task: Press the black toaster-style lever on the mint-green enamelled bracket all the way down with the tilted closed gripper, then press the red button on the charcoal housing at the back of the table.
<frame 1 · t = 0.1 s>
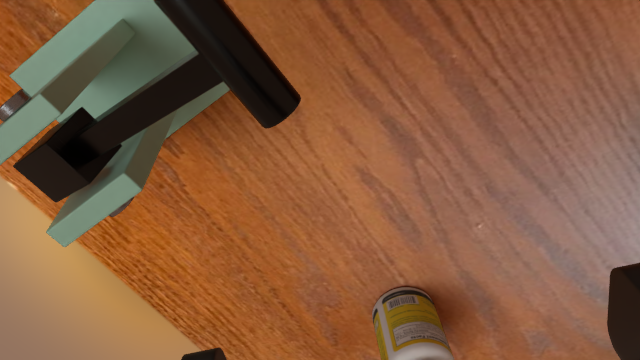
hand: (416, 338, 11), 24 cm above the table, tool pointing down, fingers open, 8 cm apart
lever: (132, 114, 20), point 13 cm above the table, hinge at 25.0°
bracket: (132, 71, 32), on the table
supplement bottle: (402, 307, 42), on the table
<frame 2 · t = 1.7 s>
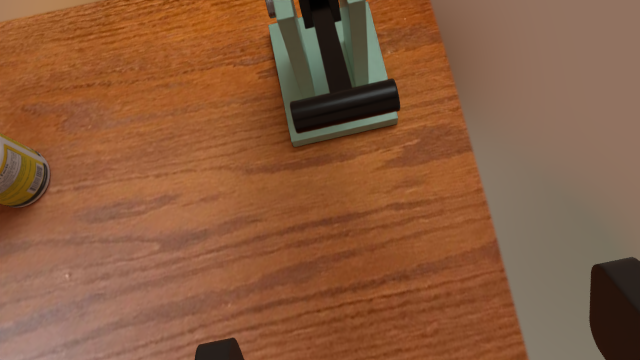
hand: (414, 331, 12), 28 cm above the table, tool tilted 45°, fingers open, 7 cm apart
lever: (328, 41, 30), point 13 cm above the table, hinge at 25.0°
bracket: (332, 76, 43), on the table
supplement bottle: (24, 180, 44), on the table
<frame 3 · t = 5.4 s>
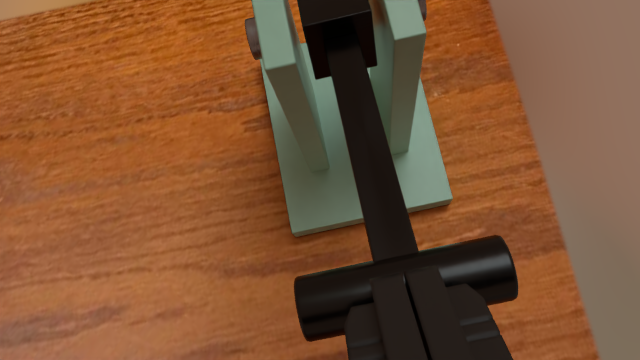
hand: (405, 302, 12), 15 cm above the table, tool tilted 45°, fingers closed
lever: (361, 122, 16), point 13 cm above the table, hinge at 19.5°, touching gripper
bracket: (351, 130, 30), on the table
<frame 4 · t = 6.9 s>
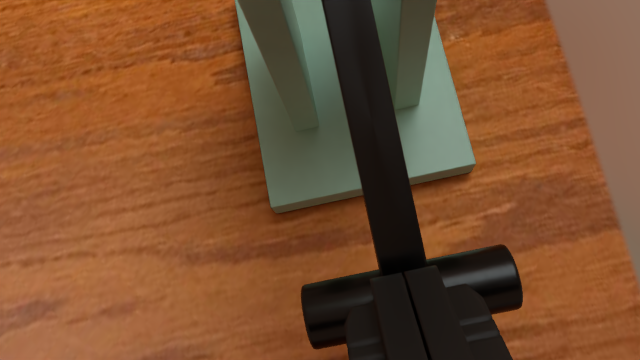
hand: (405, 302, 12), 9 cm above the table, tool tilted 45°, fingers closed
lever: (362, 80, 13), point 10 cm above the table, hinge at -17.1°, touching gripper
bracket: (347, 81, 24), on the table
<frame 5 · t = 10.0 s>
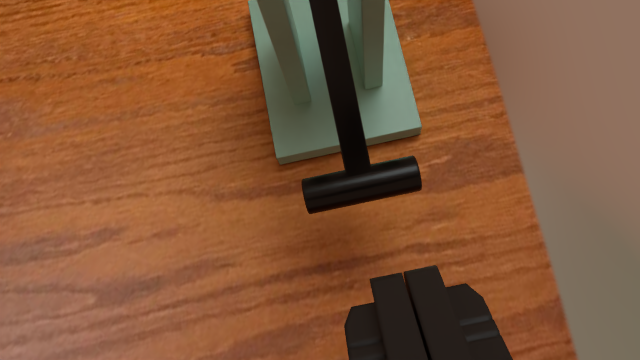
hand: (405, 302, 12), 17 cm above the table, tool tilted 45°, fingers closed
lever: (335, 62, 23), point 9 cm above the table, hinge at -29.3°
bracket: (332, 70, 33), on the table
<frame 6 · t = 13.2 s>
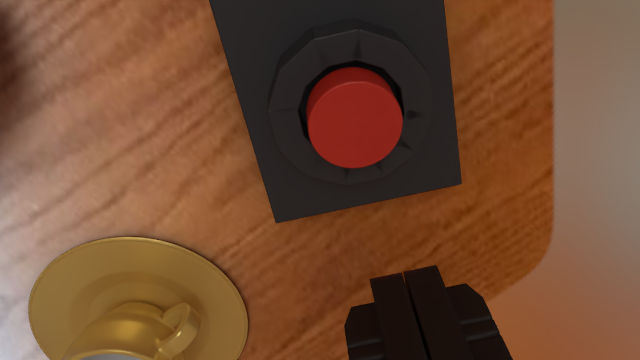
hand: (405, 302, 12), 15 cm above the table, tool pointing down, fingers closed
button housing: (342, 80, 26), on the table
button: (353, 118, 22), point 4 cm above the table, slide at 0.1 cm
cup: (143, 317, 32), on the table
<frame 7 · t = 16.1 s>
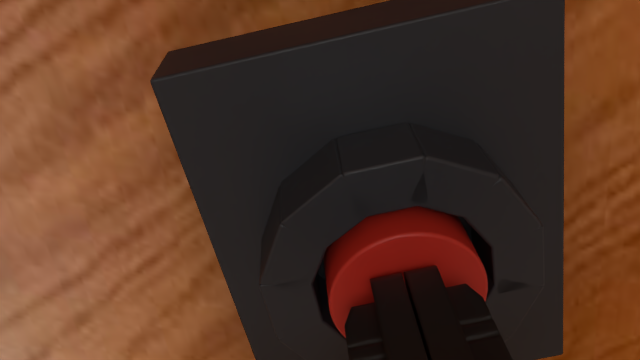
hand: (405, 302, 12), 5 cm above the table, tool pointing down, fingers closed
button housing: (378, 197, 16), on the table
button: (401, 275, 13), point 4 cm above the table, slide at -0.8 cm, touching gripper
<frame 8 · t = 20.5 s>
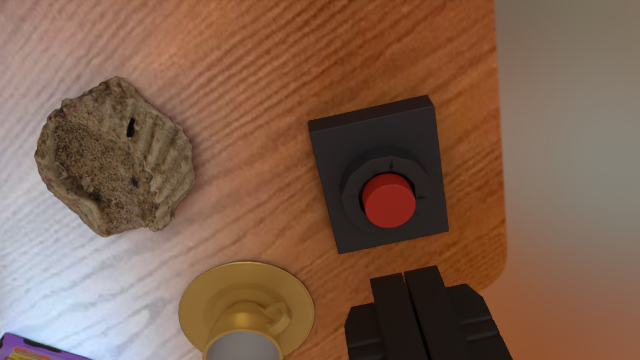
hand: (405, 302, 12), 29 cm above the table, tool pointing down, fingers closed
button housing: (378, 171, 44), on the table
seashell: (130, 142, 42), on the table
button: (388, 200, 40), point 4 cm above the table, slide at 0.1 cm
cup: (247, 311, 50), on the table
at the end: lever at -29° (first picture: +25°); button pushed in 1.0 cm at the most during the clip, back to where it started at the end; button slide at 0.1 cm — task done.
